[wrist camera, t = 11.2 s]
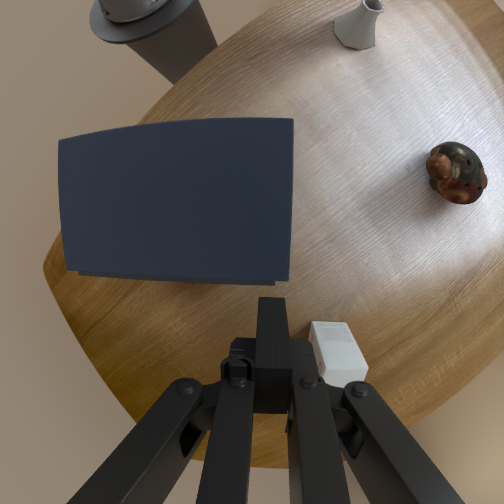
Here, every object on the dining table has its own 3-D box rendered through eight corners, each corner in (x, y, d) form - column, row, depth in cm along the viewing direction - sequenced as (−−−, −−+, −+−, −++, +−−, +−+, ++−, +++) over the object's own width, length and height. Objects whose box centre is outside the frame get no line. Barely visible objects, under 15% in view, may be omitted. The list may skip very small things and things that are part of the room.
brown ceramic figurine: (405, 139, 37) (434, 131, 29) (469, 151, 37) (499, 148, 29) (408, 200, 39) (438, 204, 31) (471, 204, 39) (501, 208, 31)
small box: (337, 359, 47) (353, 409, 35) (303, 358, 47) (311, 410, 35) (347, 321, 45) (370, 367, 32) (311, 319, 45) (324, 368, 33)
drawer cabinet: (146, 150, 39) (58, 140, 19) (279, 147, 38) (293, 118, 18) (149, 236, 43) (69, 284, 23) (277, 238, 42) (287, 298, 22)
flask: (339, 50, 34) (356, 22, 24) (327, 15, 32) (340, -17, 22) (380, 51, 33) (405, 26, 23) (367, 17, 31) (387, -12, 21)
